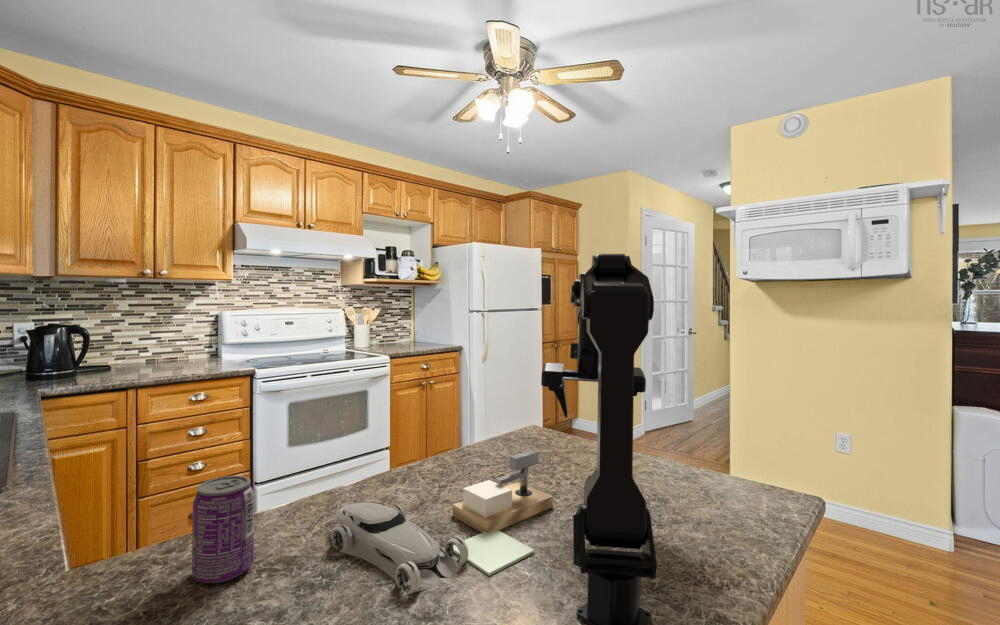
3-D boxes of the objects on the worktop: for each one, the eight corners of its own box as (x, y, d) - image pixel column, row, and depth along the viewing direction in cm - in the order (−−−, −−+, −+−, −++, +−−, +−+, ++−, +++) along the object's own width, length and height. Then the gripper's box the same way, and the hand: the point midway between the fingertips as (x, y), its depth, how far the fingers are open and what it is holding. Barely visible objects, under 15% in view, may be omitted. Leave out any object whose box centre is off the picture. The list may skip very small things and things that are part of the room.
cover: (485, 517, 75) (485, 499, 75) (462, 505, 80) (463, 488, 80) (511, 507, 79) (512, 490, 79) (488, 496, 84) (489, 479, 84)
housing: (486, 535, 73) (486, 522, 73) (452, 515, 80) (452, 503, 80) (552, 507, 84) (552, 495, 84) (517, 491, 91) (517, 481, 91)
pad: (489, 575, 62) (489, 572, 62) (449, 549, 69) (449, 546, 69) (534, 552, 69) (534, 550, 69) (493, 530, 75) (493, 527, 75)
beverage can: (240, 552, 67) (241, 470, 67) (262, 571, 63) (263, 483, 62) (183, 573, 62) (184, 484, 61) (203, 595, 57) (204, 499, 57)
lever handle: (500, 503, 80) (501, 463, 80) (494, 500, 82) (495, 460, 82) (537, 489, 87) (538, 452, 87) (531, 486, 88) (532, 450, 88)
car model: (412, 604, 57) (413, 563, 57) (314, 536, 73) (314, 505, 73) (474, 566, 65) (475, 531, 65) (374, 513, 81) (375, 485, 81)
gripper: (641, 330, 91) (635, 403, 95) (546, 326, 94) (544, 397, 98) (649, 348, 80) (642, 430, 84) (541, 343, 83) (540, 422, 87)
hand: (590, 418), depth 89 cm, fingers open, 9 cm apart
